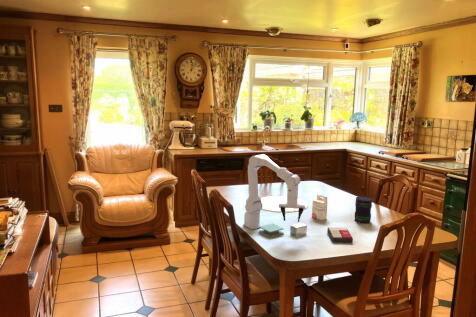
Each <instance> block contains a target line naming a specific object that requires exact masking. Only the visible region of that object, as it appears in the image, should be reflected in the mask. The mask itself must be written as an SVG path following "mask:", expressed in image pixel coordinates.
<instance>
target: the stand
mask: <svg viewBox="0 0 476 317" xmlns="http://www.w3.org/2000/svg"><path fill="white" fill-rule="evenodd" d="M258 229H261V230H259V231H258V233H259V234H261V235H263V236H265V237H268V238H275V237H278V236H283V235H284V234H285V233H284V232H283V231H284V229H285V228H284V227H282V226H279V225H278V224H275V223H269V224H265V225H261V226H259V228H258ZM282 230H283V231H282Z"/></svg>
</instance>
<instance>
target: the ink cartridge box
mask: <svg viewBox="0 0 476 317" xmlns="http://www.w3.org/2000/svg"><path fill="white" fill-rule="evenodd" d="M327 214H328V196H324V195H321V194H316V198H315V199H313V200H312V206H311V218H314V219H317V220H318V221H319V220H320V221H324V220H327V217H328V215H327Z"/></svg>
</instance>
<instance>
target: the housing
mask: <svg viewBox="0 0 476 317" xmlns="http://www.w3.org/2000/svg"><path fill="white" fill-rule="evenodd" d="M307 229H308V225H307V224H305V223H303V222H298V223H293V224H291V225H290V230H289V234H290V236H293V237H299V236H302V235H307Z"/></svg>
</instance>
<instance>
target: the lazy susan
mask: <svg viewBox="0 0 476 317" xmlns="http://www.w3.org/2000/svg"><path fill="white" fill-rule="evenodd" d="M260 198H261V202H262V205H263V207H262V209H261V210H263V211H267V212H272V213H282V212H281V210H280V209H281V208H279V204H285V203H287V196H278V195H274V196H272V195H271V196H269V195H267V196H263V197H260ZM297 204H300V205H306V207H305V209H303V211H304V210H306V209H307V208H309V204H308V203H307V201H305V200H303V199H300V198H298V202H297ZM296 212H298V213H299V209H295V208H285V214H286V213H296Z"/></svg>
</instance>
